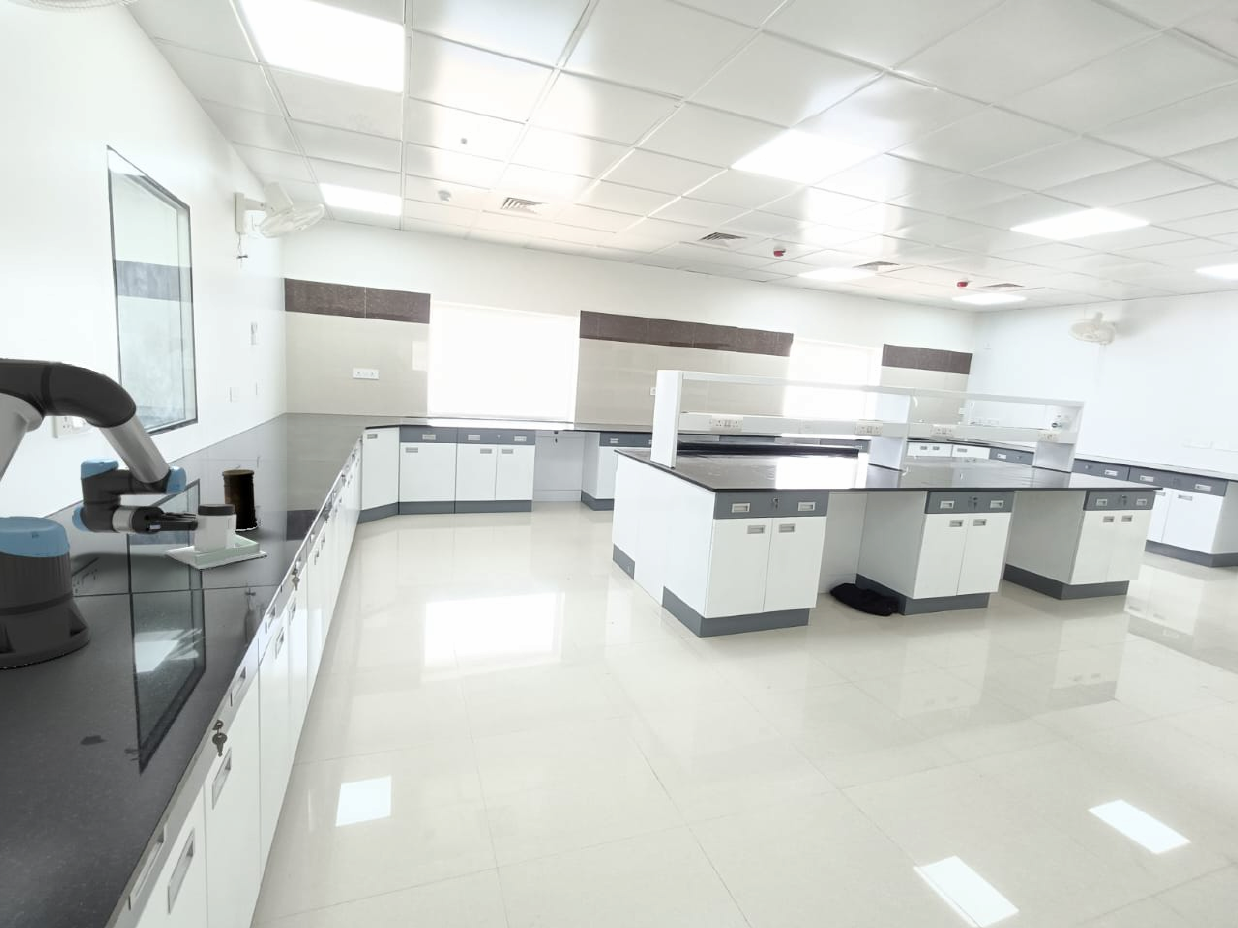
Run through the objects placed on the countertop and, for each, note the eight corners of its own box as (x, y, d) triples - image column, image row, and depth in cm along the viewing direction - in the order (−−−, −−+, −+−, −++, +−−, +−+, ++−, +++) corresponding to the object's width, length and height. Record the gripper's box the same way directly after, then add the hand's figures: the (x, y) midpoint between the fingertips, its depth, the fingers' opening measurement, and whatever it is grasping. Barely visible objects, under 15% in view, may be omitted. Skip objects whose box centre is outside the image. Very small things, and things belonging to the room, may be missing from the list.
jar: (207, 547, 162) (209, 503, 162) (239, 547, 163) (241, 504, 163) (188, 552, 153) (190, 505, 153) (222, 552, 154) (224, 506, 154)
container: (226, 525, 186) (223, 469, 183) (259, 523, 190) (256, 468, 187) (221, 533, 178) (217, 474, 175) (256, 531, 182) (253, 473, 179)
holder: (266, 555, 160) (266, 544, 160) (199, 570, 147) (198, 558, 146) (231, 541, 171) (230, 531, 170) (165, 554, 158) (164, 543, 157)
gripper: (160, 527, 164) (246, 530, 164) (121, 540, 151) (215, 544, 152) (158, 500, 163) (244, 504, 163) (119, 511, 150) (213, 516, 150)
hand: (230, 523), depth 157 cm, fingers closed
